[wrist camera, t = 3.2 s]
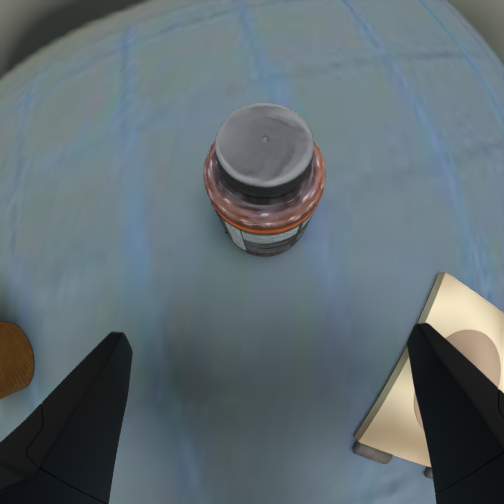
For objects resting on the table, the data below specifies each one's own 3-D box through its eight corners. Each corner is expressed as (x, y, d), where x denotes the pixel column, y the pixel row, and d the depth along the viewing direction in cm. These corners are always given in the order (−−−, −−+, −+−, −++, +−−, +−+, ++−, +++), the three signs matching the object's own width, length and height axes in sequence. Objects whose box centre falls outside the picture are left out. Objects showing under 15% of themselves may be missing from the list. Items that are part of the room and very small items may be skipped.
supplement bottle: (230, 175, 24) (207, 77, 13) (309, 185, 23) (341, 92, 12) (217, 252, 23) (175, 199, 12) (301, 264, 22) (336, 219, 11)
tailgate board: (447, 480, 18) (454, 486, 17) (346, 447, 20) (350, 454, 18) (521, 333, 20) (530, 333, 19) (438, 273, 22) (446, 271, 20)
